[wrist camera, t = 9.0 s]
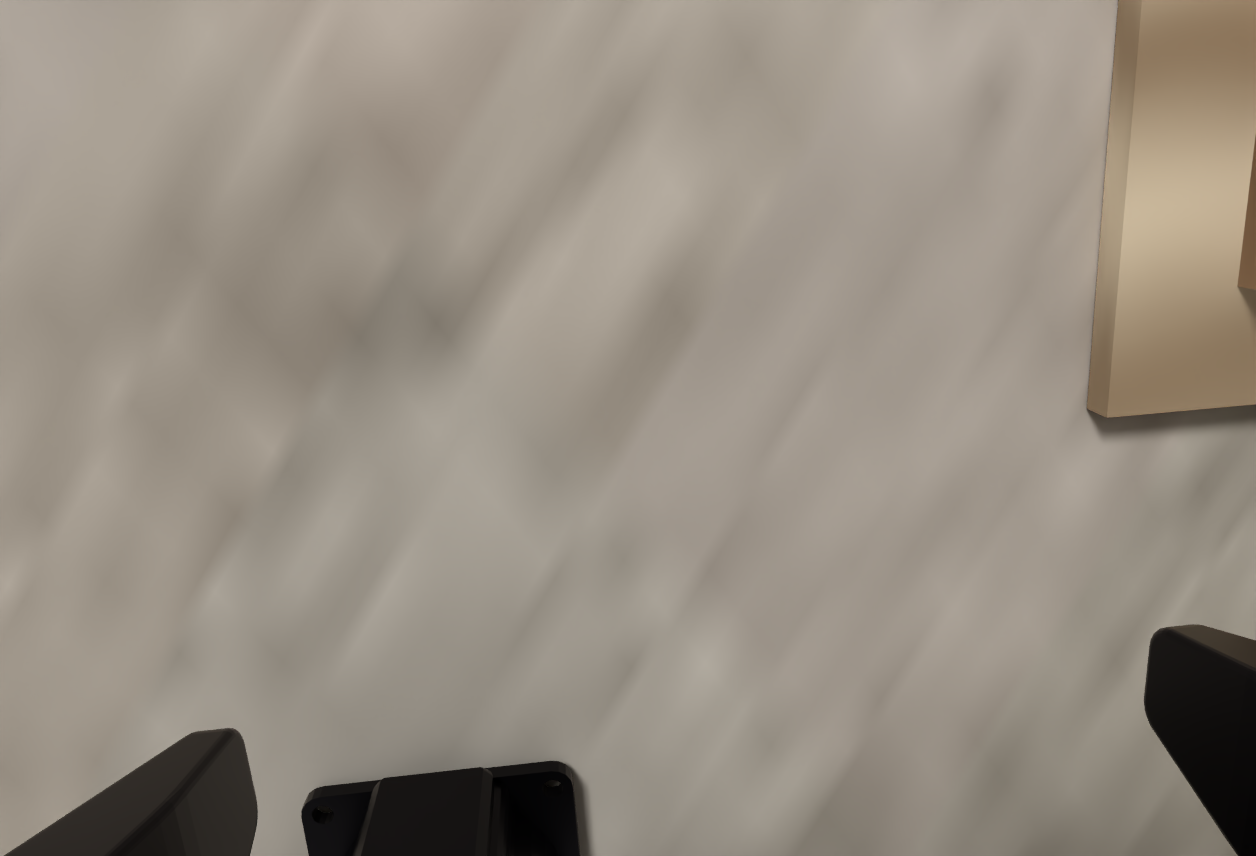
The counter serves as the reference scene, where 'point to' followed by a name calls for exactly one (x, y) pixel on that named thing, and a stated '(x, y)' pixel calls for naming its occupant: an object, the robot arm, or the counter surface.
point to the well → (1178, 212)
